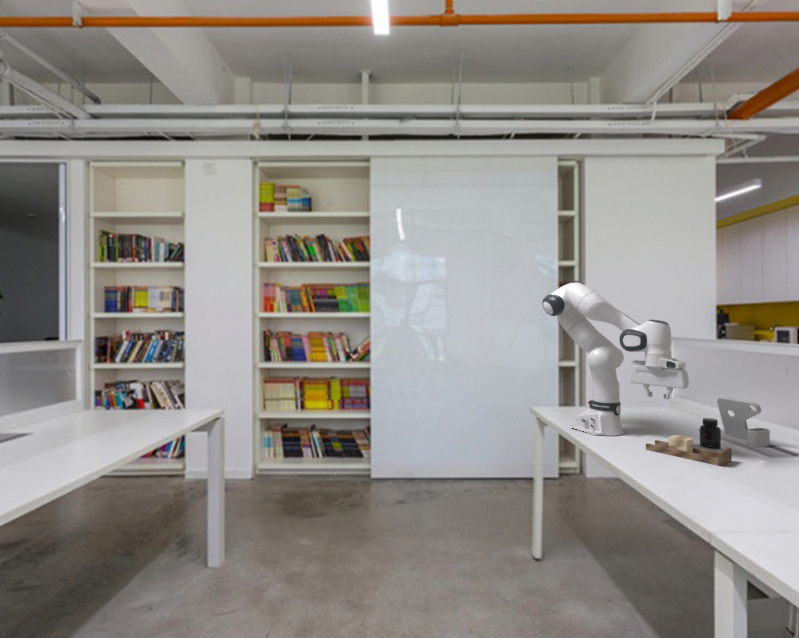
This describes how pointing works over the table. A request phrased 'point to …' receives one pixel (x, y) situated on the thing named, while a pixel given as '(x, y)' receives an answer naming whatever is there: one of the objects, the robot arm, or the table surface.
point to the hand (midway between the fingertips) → (657, 397)
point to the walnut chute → (694, 453)
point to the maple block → (681, 443)
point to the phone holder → (741, 423)
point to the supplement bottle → (710, 434)
